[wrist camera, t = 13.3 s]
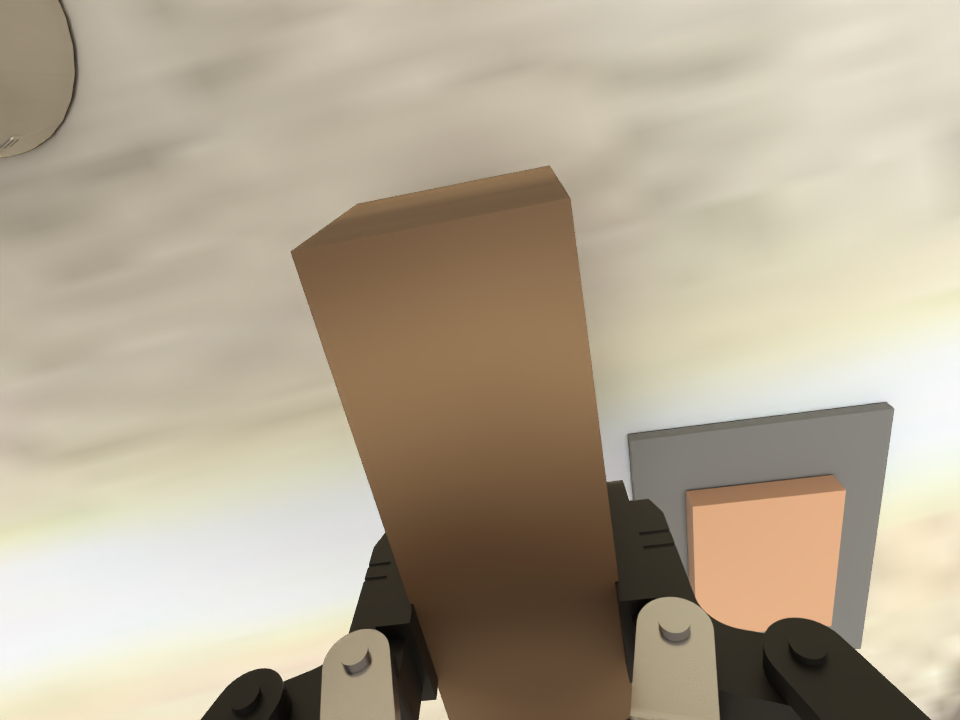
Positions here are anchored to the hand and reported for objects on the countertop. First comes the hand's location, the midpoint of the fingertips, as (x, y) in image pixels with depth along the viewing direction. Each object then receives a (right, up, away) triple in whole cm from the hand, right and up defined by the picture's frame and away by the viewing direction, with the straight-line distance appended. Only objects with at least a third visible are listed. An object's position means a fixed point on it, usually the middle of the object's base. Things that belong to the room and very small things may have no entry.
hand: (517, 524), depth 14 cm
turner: (+1, -2, +2) cm, 3 cm away
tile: (+13, -2, +13) cm, 19 cm away
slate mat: (+14, -6, +16) cm, 22 cm away
